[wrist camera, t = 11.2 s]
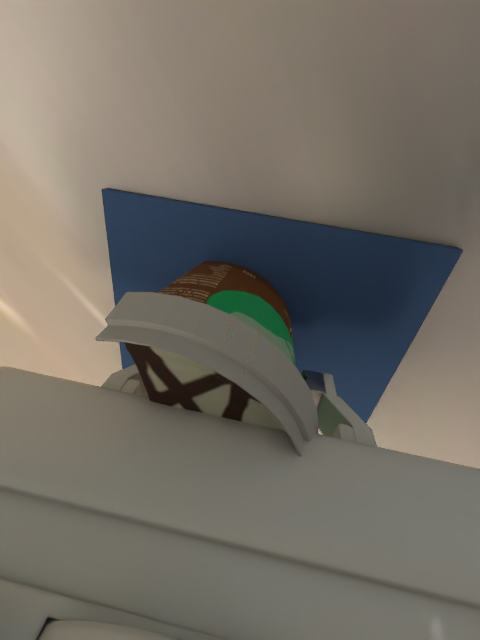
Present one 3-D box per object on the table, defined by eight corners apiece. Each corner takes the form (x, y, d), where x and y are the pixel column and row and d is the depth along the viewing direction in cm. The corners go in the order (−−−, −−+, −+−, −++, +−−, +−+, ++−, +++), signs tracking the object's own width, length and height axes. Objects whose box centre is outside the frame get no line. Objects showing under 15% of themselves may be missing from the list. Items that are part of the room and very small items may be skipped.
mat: (458, 247, 15) (463, 250, 14) (363, 419, 22) (365, 425, 21) (107, 188, 16) (101, 188, 16) (126, 368, 23) (122, 373, 23)
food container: (313, 393, 20) (324, 559, 12) (233, 392, 22) (193, 540, 13) (306, 222, 15) (320, 309, 6) (198, 236, 16) (86, 322, 7)
